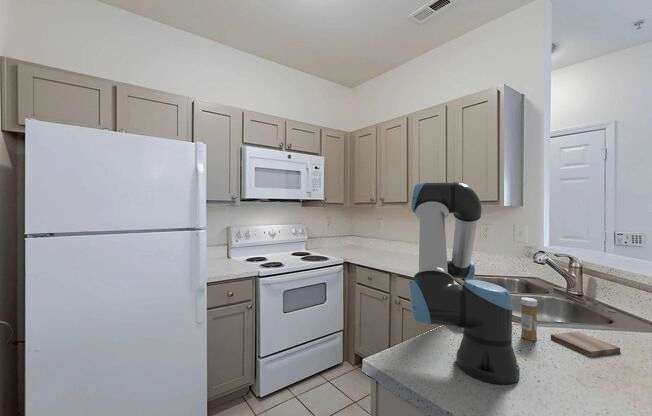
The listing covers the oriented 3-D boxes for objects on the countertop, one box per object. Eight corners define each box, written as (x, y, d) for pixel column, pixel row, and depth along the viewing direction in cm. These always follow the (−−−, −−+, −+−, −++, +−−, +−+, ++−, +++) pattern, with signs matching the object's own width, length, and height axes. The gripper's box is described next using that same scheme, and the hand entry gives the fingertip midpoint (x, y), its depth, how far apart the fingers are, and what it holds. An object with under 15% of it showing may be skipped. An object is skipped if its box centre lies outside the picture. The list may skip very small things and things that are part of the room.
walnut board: (590, 356, 85) (590, 351, 85) (550, 338, 97) (550, 334, 97) (620, 352, 88) (620, 347, 88) (578, 335, 99) (578, 331, 99)
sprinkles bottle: (540, 340, 95) (540, 300, 95) (528, 341, 95) (528, 301, 95) (529, 334, 100) (529, 296, 100) (517, 335, 99) (517, 297, 99)
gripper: (464, 298, 130) (516, 313, 112) (430, 308, 116) (482, 326, 98) (465, 282, 130) (516, 294, 112) (430, 290, 116) (482, 305, 98)
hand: (500, 309), depth 105 cm, fingers open, 13 cm apart
